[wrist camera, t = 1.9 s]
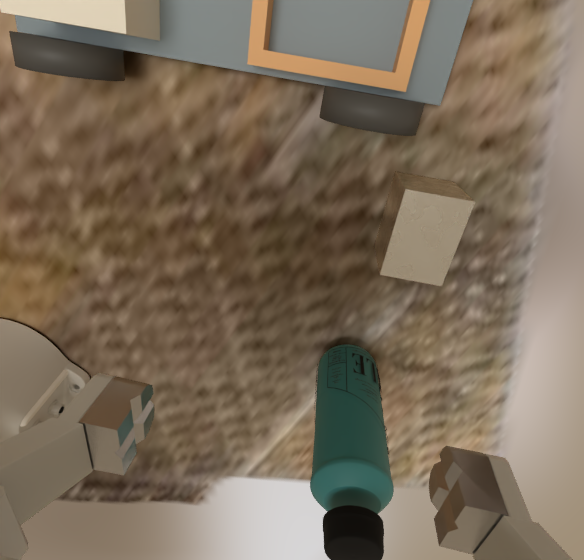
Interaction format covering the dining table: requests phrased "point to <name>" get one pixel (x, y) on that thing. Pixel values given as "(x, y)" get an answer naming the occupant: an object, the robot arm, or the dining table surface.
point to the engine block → (421, 228)
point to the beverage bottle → (350, 454)
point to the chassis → (262, 46)
